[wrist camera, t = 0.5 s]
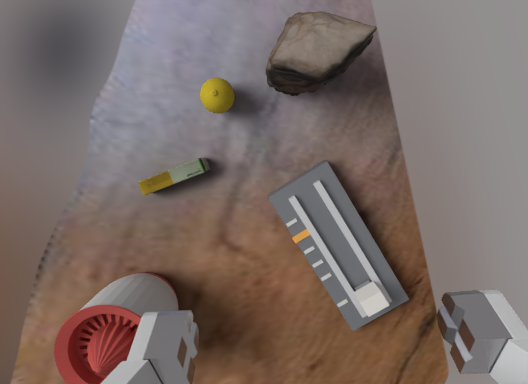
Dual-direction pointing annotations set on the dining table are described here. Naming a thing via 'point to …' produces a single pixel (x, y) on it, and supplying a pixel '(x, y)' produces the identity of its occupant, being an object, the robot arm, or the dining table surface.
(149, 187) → the medication box
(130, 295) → the citrus juicer
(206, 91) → the lemon
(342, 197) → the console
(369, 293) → the fader
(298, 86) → the owl
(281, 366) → the dining table surface
